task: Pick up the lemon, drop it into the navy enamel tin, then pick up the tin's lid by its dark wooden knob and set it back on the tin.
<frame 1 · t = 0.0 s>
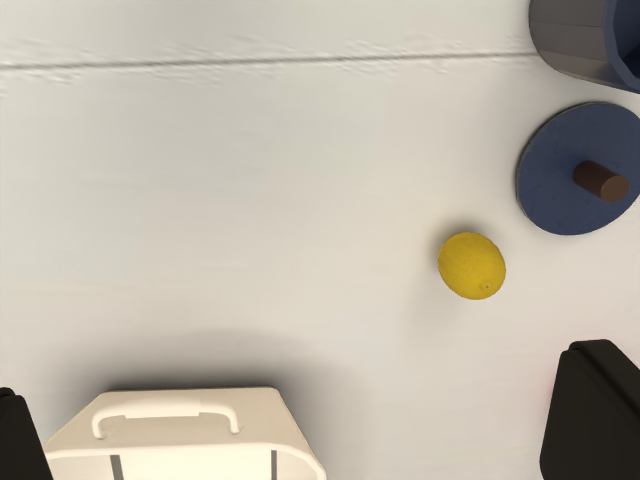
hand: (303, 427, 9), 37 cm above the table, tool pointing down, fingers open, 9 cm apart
tin lid: (582, 171, 47), point 1 cm above the table
tin: (597, 3, 41), on the table
tub: (197, 444, 58), on the table
lemon: (455, 244, 50), on the table
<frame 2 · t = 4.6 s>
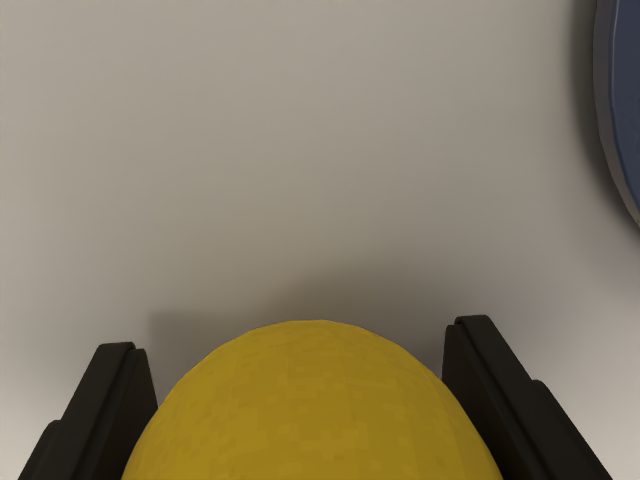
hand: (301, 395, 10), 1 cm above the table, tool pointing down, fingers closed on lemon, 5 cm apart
lemon: (298, 353, 11), on the table, touching gripper
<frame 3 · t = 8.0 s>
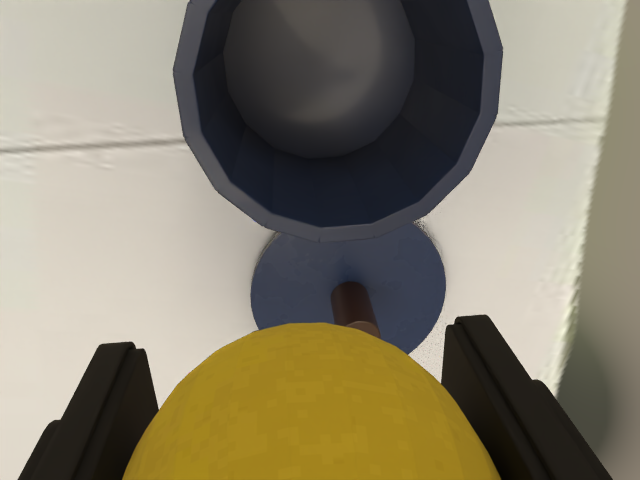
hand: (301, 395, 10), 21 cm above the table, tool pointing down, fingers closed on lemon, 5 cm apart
tin lid: (348, 293, 33), point 1 cm above the table
tin: (320, 64, 28), on the table
lemon: (298, 355, 11), point 20 cm above the table, touching gripper
when the fingers open (8 cm above the table, at t = 11.6 s): lemon stays where it is, resting on tin.
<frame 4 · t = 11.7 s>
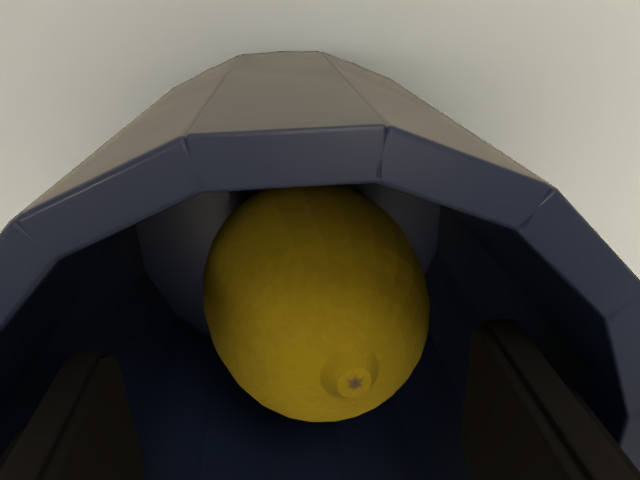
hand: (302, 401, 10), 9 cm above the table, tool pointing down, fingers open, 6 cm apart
tin: (291, 227, 18), on the table
lemon: (285, 232, 17), point 1 cm above the table, touching tin
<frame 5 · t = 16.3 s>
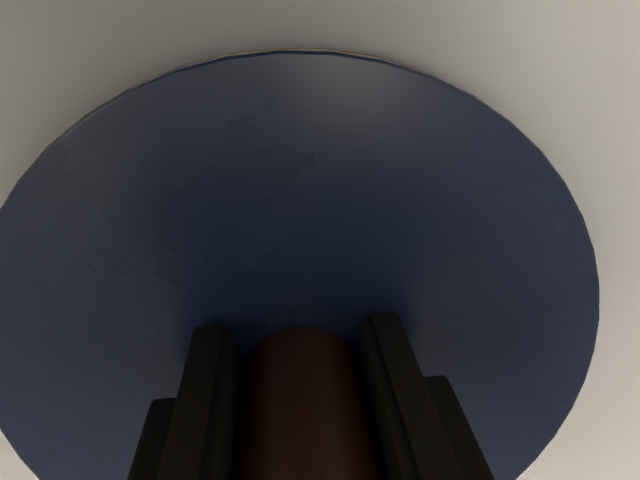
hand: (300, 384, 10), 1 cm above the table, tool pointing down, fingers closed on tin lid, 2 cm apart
tin lid: (299, 359, 11), point 1 cm above the table, touching gripper
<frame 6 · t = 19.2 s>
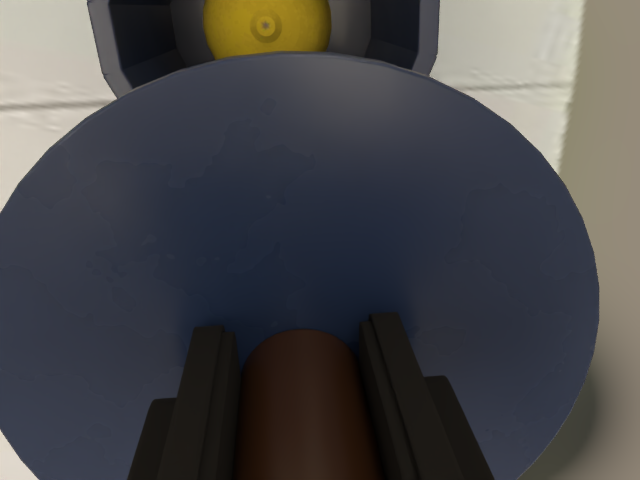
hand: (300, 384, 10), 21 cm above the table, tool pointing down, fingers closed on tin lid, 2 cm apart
tin lid: (299, 360, 11), point 20 cm above the table, touching gripper
tin: (273, 21, 26), on the table
lemon: (269, 20, 26), resting on tin
when the fingers open (11 cm above the table, at t = 22.3 s): tin lid stays where it is, resting on tin.
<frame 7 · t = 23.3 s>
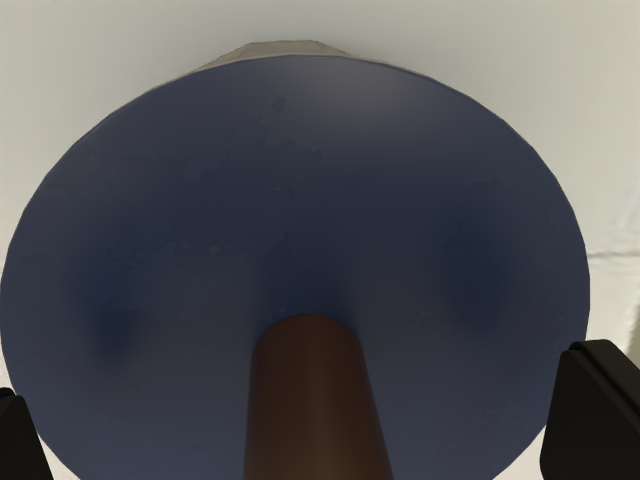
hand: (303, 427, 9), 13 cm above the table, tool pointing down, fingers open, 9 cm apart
tin lid: (306, 346, 11), point 10 cm above the table, touching tin
tin: (290, 189, 21), on the table
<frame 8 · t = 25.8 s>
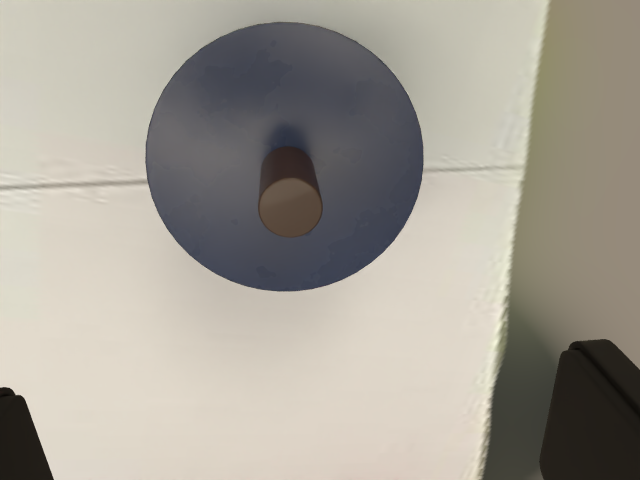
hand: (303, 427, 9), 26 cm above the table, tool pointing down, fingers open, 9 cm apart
tin lid: (287, 169, 23), point 10 cm above the table, touching tin
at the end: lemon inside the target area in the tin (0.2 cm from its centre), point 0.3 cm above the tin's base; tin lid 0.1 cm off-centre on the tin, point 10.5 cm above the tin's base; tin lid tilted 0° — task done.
